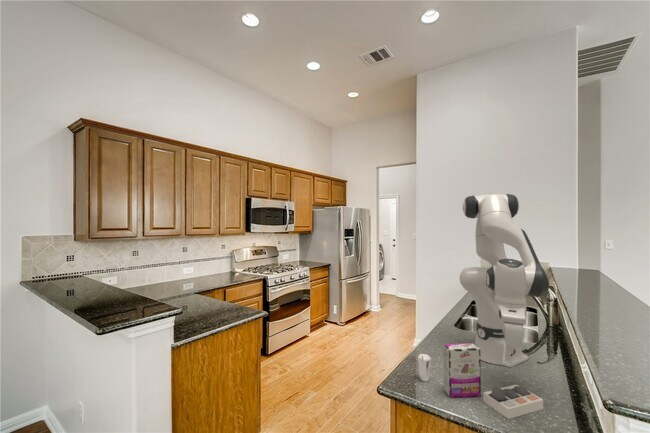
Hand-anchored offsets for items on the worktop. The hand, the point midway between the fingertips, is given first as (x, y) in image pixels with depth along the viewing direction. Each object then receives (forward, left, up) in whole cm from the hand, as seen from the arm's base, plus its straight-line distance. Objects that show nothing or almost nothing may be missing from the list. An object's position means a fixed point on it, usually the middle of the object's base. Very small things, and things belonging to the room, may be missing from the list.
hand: (509, 351), depth 96 cm
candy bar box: (+11, -9, -17) cm, 22 cm away
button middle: (0, 0, -16) cm, 16 cm away
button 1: (+5, 0, -15) cm, 16 cm away
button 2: (-5, 0, -16) cm, 17 cm away
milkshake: (+18, -20, -17) cm, 32 cm away
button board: (0, +1, -17) cm, 17 cm away
